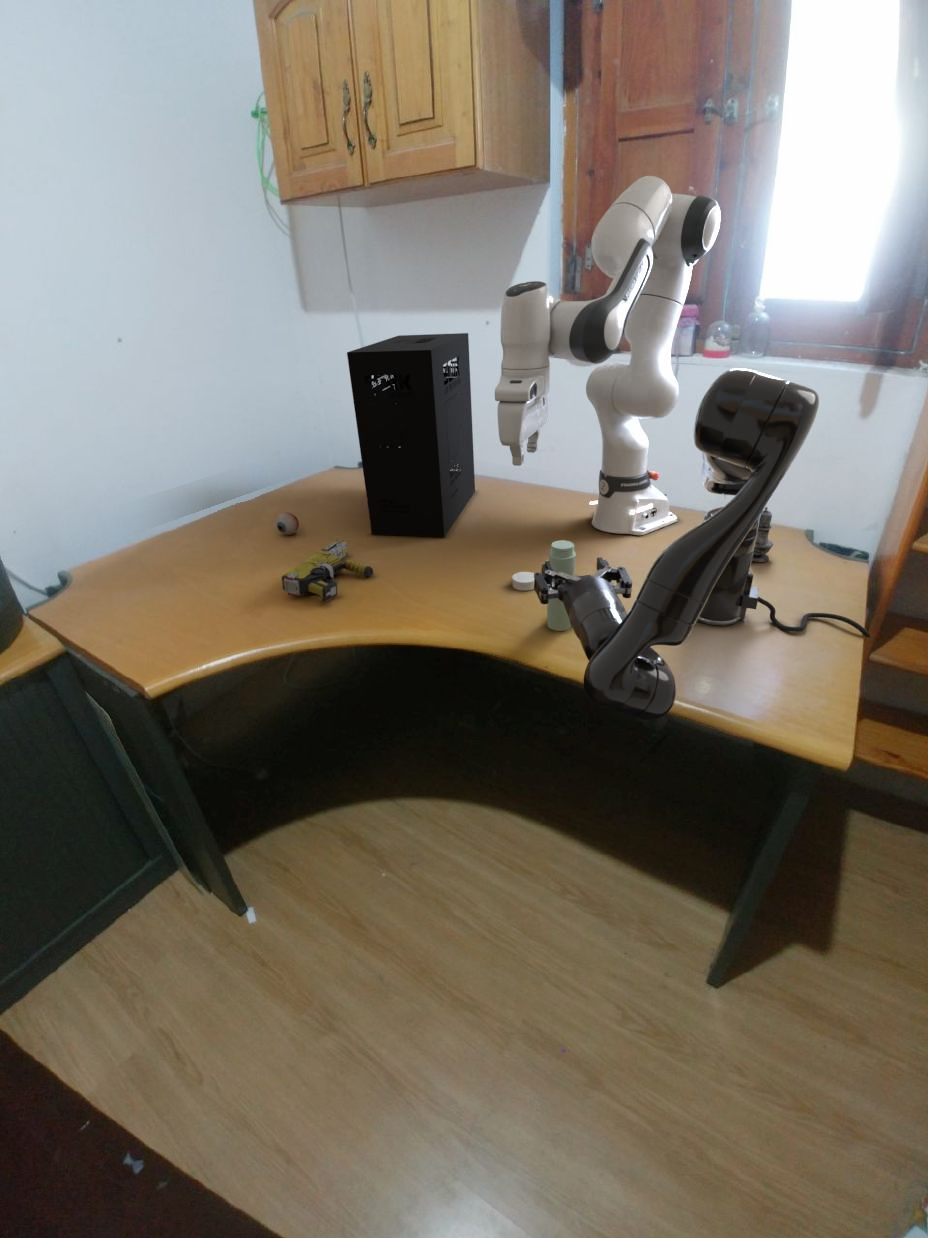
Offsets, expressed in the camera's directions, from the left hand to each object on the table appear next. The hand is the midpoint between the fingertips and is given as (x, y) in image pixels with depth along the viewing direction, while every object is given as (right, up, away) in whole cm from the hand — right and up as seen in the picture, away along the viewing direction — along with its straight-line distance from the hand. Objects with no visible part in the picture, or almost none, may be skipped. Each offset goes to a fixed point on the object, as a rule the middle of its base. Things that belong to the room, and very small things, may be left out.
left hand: (525, 457), depth 118 cm
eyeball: (-60, -8, +47) cm, 77 cm away
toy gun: (-41, -22, +21) cm, 51 cm away
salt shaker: (+55, -18, +20) cm, 61 cm away
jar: (+7, -33, -2) cm, 33 cm away
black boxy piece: (-23, 0, +57) cm, 62 cm away
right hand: (+6, -23, -19) cm, 30 cm away
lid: (+1, -23, +13) cm, 26 cm away
